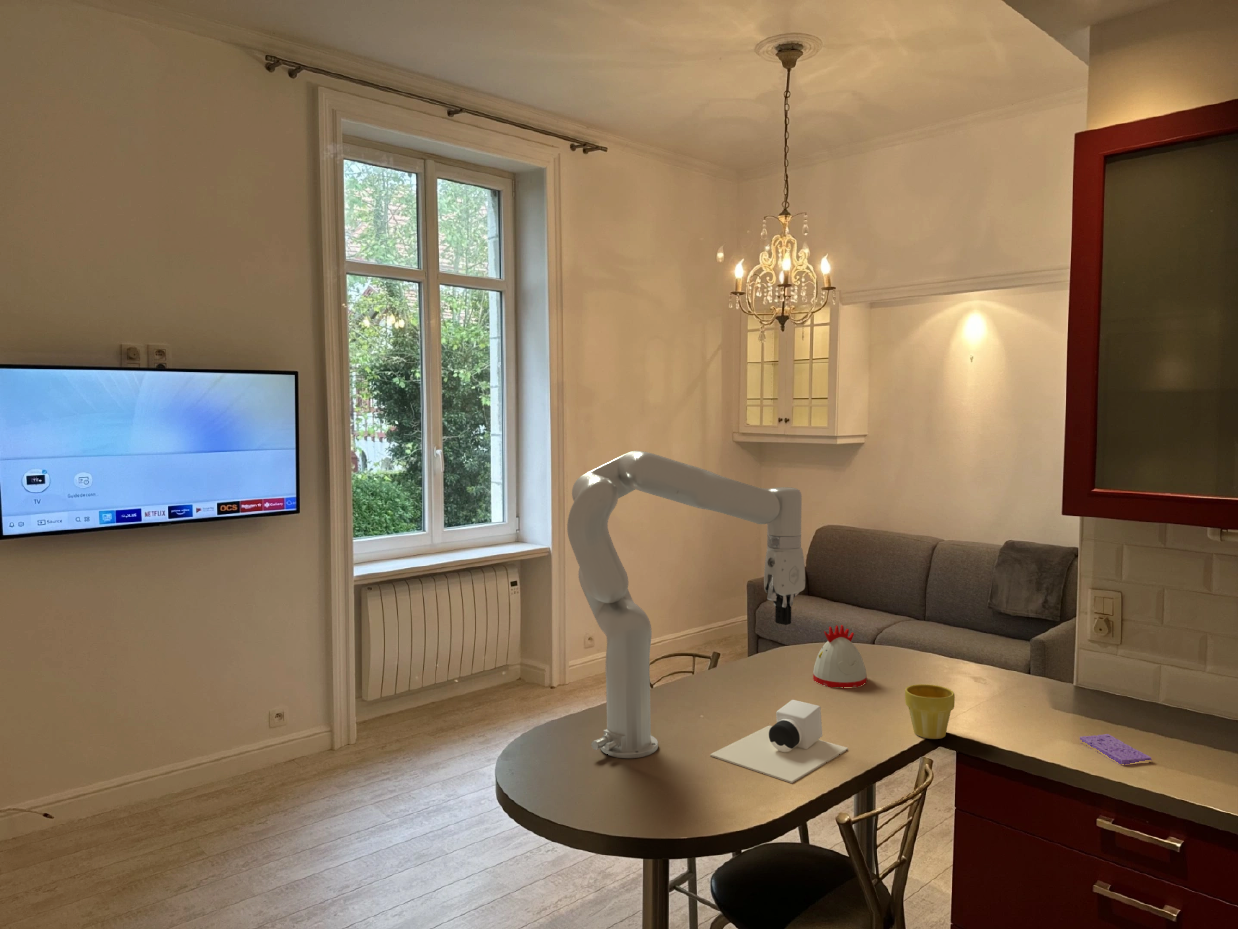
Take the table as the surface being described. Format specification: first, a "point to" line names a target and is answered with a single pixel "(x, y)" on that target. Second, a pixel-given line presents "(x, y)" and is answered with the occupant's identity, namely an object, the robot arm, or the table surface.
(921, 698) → the plant pot
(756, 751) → the mat
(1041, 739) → the table surface
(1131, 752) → the sponges
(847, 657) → the kitchen timer
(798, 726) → the medicine bottle
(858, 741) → the table surface
